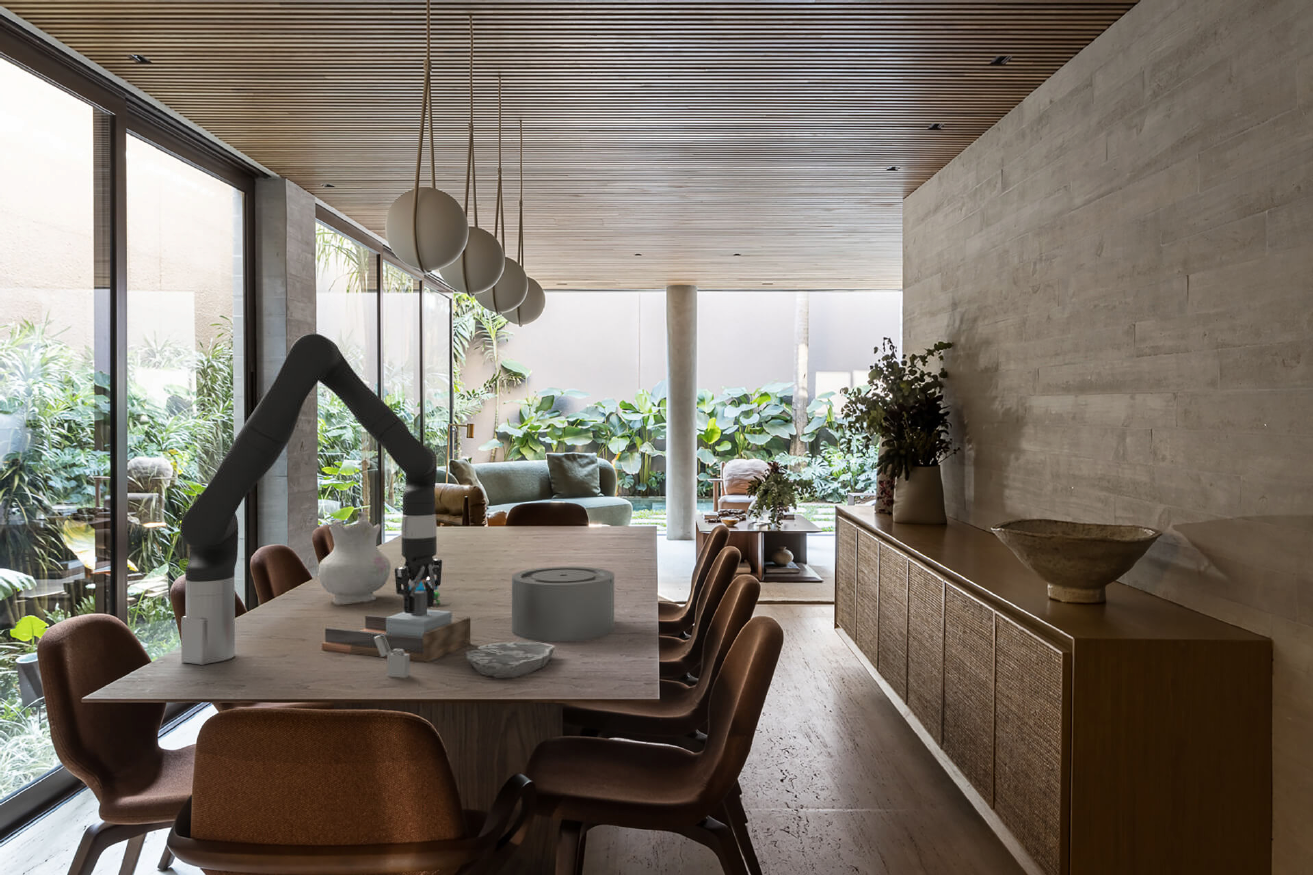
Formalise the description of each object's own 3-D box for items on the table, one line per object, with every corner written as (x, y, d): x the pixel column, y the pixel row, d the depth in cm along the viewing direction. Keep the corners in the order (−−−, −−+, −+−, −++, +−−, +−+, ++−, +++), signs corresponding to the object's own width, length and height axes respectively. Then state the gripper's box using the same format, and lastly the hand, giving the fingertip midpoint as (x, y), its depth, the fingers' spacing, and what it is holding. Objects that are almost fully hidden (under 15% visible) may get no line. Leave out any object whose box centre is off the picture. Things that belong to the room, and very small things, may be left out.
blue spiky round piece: (394, 599, 226) (414, 570, 232) (403, 610, 230) (423, 582, 236) (425, 608, 222) (445, 578, 228) (434, 619, 226) (453, 590, 232)
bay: (427, 662, 170) (427, 633, 170) (322, 649, 180) (321, 622, 180) (470, 643, 185) (470, 617, 185) (371, 632, 195) (371, 607, 195)
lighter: (410, 675, 161) (409, 635, 161) (405, 677, 160) (405, 637, 159) (378, 672, 163) (378, 632, 163) (373, 675, 161) (373, 635, 161)
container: (590, 646, 184) (590, 587, 184) (492, 637, 192) (492, 581, 192) (628, 621, 208) (628, 569, 207) (540, 614, 215) (540, 564, 215)
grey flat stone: (498, 651, 180) (498, 637, 180) (566, 658, 174) (566, 645, 174) (444, 675, 162) (444, 661, 162) (518, 685, 156) (518, 670, 156)
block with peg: (424, 649, 174) (424, 598, 174) (385, 644, 178) (385, 594, 178) (451, 638, 184) (451, 589, 183) (414, 634, 187) (414, 586, 187)
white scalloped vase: (322, 598, 241) (315, 515, 240) (391, 588, 248) (384, 507, 247) (320, 613, 221) (312, 523, 220) (395, 602, 228) (387, 514, 227)
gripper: (412, 539, 172) (412, 618, 172) (452, 531, 186) (452, 604, 186) (383, 537, 175) (383, 615, 175) (425, 530, 188) (425, 602, 189)
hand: (419, 609), depth 181 cm, fingers open, 6 cm apart
